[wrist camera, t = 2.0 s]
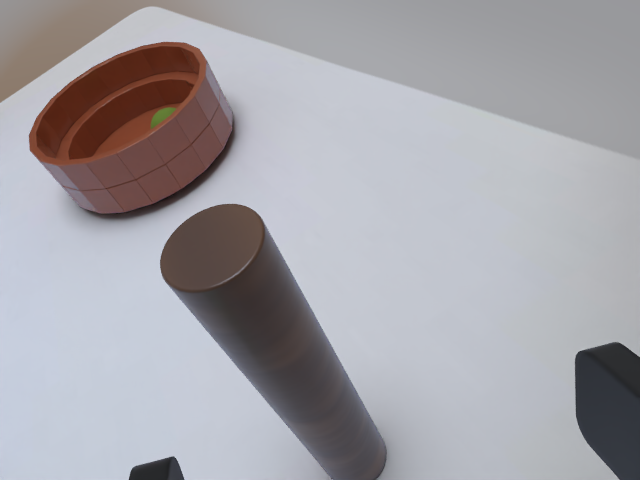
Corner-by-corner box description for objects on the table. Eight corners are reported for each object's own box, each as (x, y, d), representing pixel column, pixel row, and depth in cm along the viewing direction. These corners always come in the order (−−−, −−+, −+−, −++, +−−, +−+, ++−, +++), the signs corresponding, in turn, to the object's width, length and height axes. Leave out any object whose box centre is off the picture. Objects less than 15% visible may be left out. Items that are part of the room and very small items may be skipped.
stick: (368, 413, 27) (244, 186, 16) (398, 467, 25) (280, 252, 14) (315, 444, 27) (149, 236, 15) (340, 501, 25) (171, 312, 13)
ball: (192, 124, 48) (175, 94, 45) (201, 142, 45) (183, 111, 43) (159, 141, 47) (140, 112, 45) (166, 160, 45) (146, 130, 43)
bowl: (210, 78, 54) (181, 21, 49) (259, 157, 43) (229, 94, 39) (68, 151, 52) (26, 99, 48) (83, 250, 42) (32, 196, 38)
